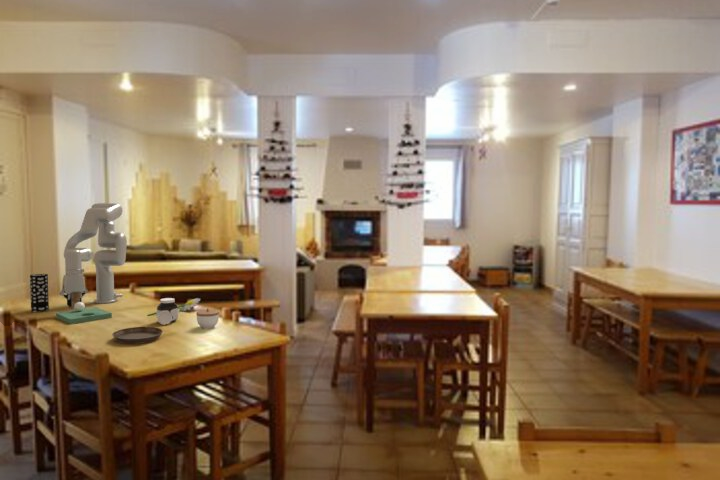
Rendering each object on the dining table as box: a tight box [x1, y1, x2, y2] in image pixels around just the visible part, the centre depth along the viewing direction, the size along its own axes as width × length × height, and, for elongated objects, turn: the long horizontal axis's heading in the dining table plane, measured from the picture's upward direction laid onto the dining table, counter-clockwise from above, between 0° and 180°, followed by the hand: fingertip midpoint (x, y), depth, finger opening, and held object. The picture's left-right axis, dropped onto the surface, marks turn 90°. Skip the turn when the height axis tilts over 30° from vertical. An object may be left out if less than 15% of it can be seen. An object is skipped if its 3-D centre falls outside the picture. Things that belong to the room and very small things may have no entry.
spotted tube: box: [29, 273, 50, 313], centre depth 273 cm, size 8×8×20 cm
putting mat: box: [55, 307, 113, 325], centre depth 258 cm, size 20×20×2 cm
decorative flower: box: [147, 297, 201, 317], centre depth 275 cm, size 13×5×30 cm
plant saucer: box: [111, 326, 164, 345], centre depth 221 cm, size 21×21×3 cm
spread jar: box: [156, 297, 179, 326], centre depth 251 cm, size 12×11×12 cm
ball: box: [73, 301, 86, 311], centre depth 262 cm, size 5×5×5 cm
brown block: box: [68, 291, 80, 310], centre depth 266 cm, size 4×5×9 cm
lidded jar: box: [195, 308, 220, 329], centre depth 243 cm, size 11×11×9 cm
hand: (74, 305), depth 266 cm, fingers closed on brown block, 4 cm apart
